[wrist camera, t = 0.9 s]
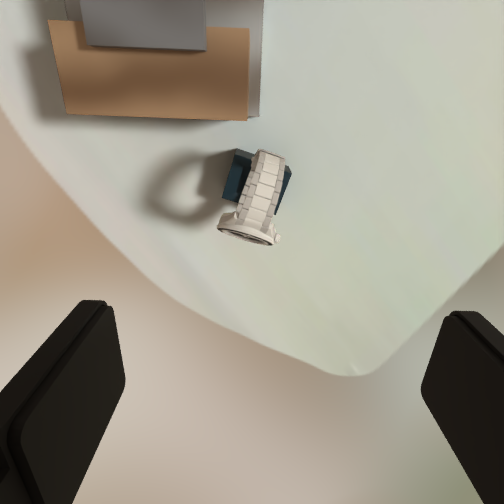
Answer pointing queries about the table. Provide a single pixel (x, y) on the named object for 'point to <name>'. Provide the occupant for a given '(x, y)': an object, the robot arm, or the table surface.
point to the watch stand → (160, 58)
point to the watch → (254, 196)
